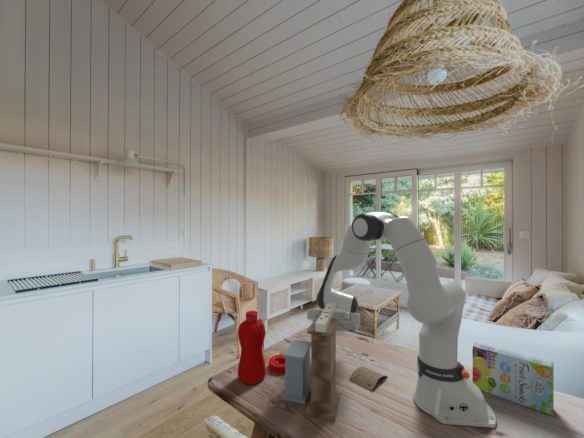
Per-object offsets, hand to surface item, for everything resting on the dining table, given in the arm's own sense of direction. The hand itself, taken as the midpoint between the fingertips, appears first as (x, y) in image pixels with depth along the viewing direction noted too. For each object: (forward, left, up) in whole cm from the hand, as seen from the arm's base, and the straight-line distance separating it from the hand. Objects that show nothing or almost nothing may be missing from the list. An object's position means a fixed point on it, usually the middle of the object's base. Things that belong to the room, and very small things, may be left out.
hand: (330, 312), depth 102 cm
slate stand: (+10, +8, -26) cm, 29 cm away
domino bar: (0, +8, 0) cm, 8 cm away
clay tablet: (-13, -7, -27) cm, 30 cm away
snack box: (-59, -10, -26) cm, 65 cm away
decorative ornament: (+21, -5, -26) cm, 34 cm away
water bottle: (+28, +6, -26) cm, 39 cm away
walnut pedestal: (0, +12, -26) cm, 29 cm away
